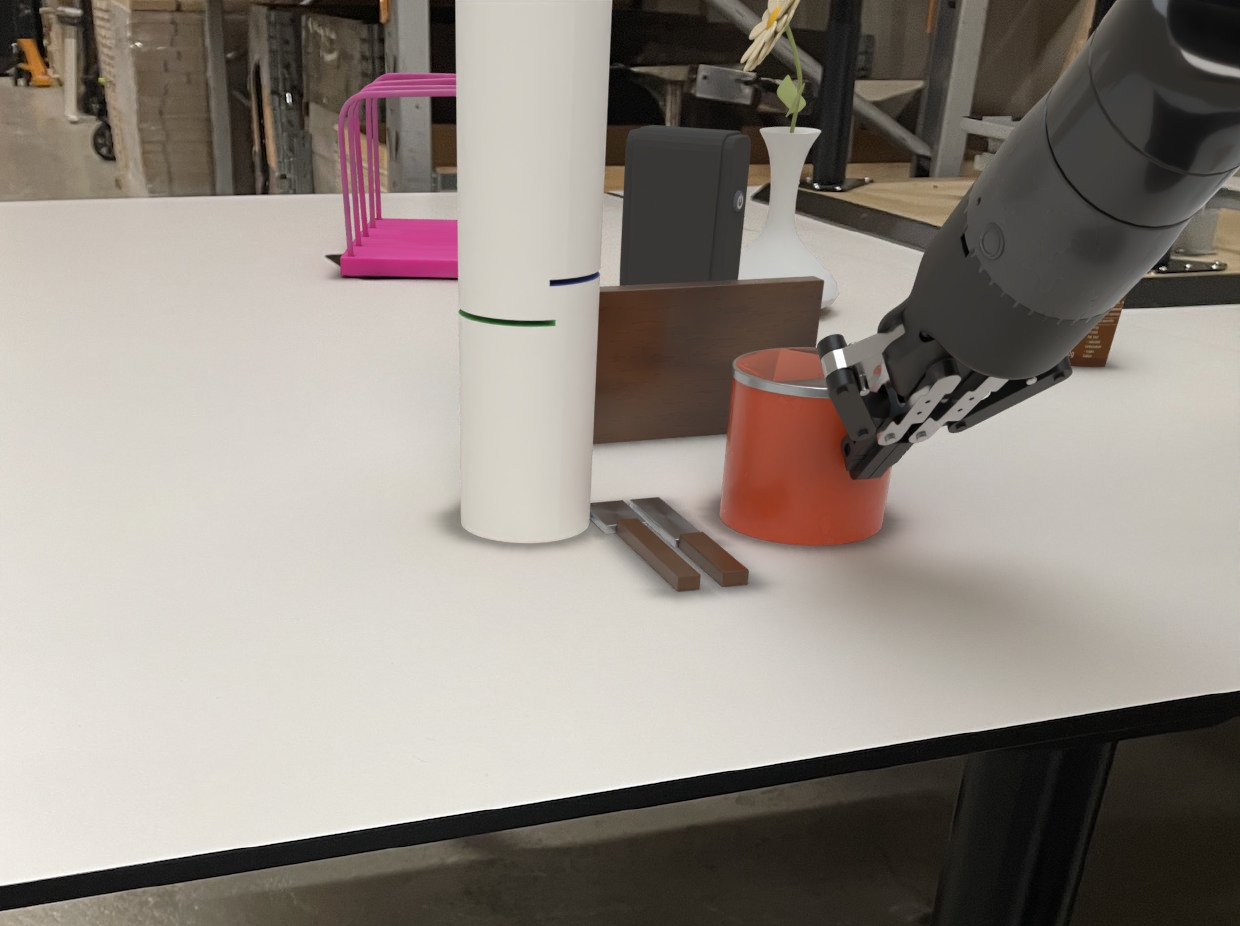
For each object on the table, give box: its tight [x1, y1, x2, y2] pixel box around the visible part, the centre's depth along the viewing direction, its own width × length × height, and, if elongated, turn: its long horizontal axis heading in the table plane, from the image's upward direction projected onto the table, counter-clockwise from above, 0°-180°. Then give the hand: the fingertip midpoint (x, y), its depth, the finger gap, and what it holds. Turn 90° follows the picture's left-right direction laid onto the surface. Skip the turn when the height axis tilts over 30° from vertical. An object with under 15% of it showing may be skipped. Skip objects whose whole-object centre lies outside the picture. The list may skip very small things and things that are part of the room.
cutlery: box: [590, 496, 750, 593], centre depth 75 cm, size 13×5×1 cm, turn 16°
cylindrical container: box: [454, 0, 613, 544], centre depth 71 cm, size 7×7×25 cm
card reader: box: [618, 124, 752, 286], centre depth 109 cm, size 9×4×15 cm, turn 57°
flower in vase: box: [738, 0, 840, 310], centre depth 116 cm, size 13×11×25 cm
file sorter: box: [337, 72, 458, 279], centre depth 140 cm, size 17×25×16 cm
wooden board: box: [593, 276, 824, 445], centre depth 90 cm, size 16×2×9 cm, turn 106°
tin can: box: [719, 347, 893, 546], centre depth 76 cm, size 9×9×8 cm
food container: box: [1068, 293, 1128, 368], centre depth 109 cm, size 12×6×10 cm, turn 10°
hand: (859, 462), depth 72 cm, fingers closed
